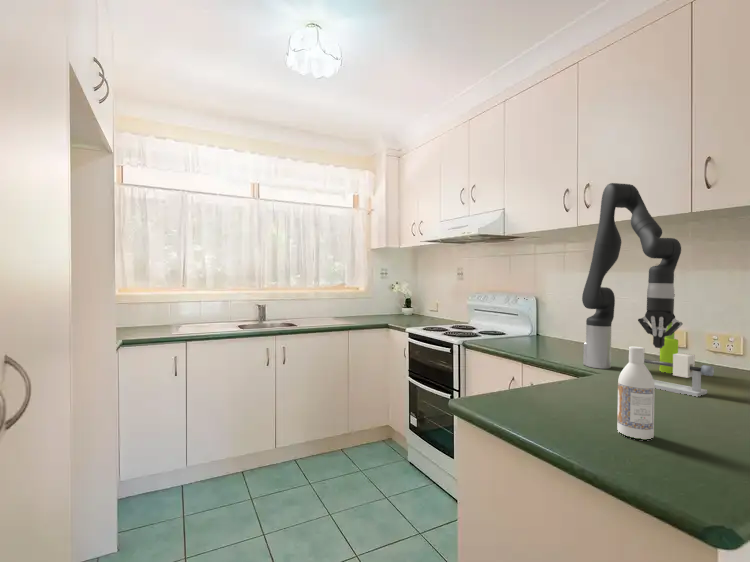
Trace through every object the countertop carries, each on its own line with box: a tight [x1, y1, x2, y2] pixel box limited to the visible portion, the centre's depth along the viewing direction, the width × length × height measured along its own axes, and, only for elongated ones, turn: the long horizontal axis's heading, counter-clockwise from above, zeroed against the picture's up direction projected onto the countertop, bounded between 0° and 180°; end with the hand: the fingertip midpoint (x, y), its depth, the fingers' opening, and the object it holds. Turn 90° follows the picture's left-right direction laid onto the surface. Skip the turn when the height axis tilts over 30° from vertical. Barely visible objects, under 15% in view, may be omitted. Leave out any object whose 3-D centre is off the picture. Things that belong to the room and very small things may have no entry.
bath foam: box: [616, 345, 656, 440], centre depth 91 cm, size 7×7×20 cm
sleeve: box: [672, 352, 696, 379], centre depth 130 cm, size 4×6×7 cm
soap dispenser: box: [659, 322, 679, 374], centre depth 160 cm, size 6×7×20 cm
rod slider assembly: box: [644, 358, 715, 398], centre depth 133 cm, size 22×8×10 cm, turn 33°
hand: (658, 347), depth 136 cm, fingers closed
